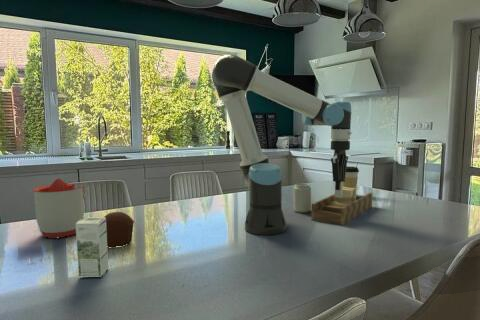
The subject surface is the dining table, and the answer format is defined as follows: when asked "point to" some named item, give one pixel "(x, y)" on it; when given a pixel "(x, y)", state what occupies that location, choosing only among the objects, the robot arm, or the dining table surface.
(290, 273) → the dining table surface
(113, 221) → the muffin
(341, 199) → the maple block
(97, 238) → the syrup box
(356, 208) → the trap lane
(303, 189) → the can
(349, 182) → the coffee cup
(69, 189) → the citrus juicer
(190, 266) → the dining table surface
